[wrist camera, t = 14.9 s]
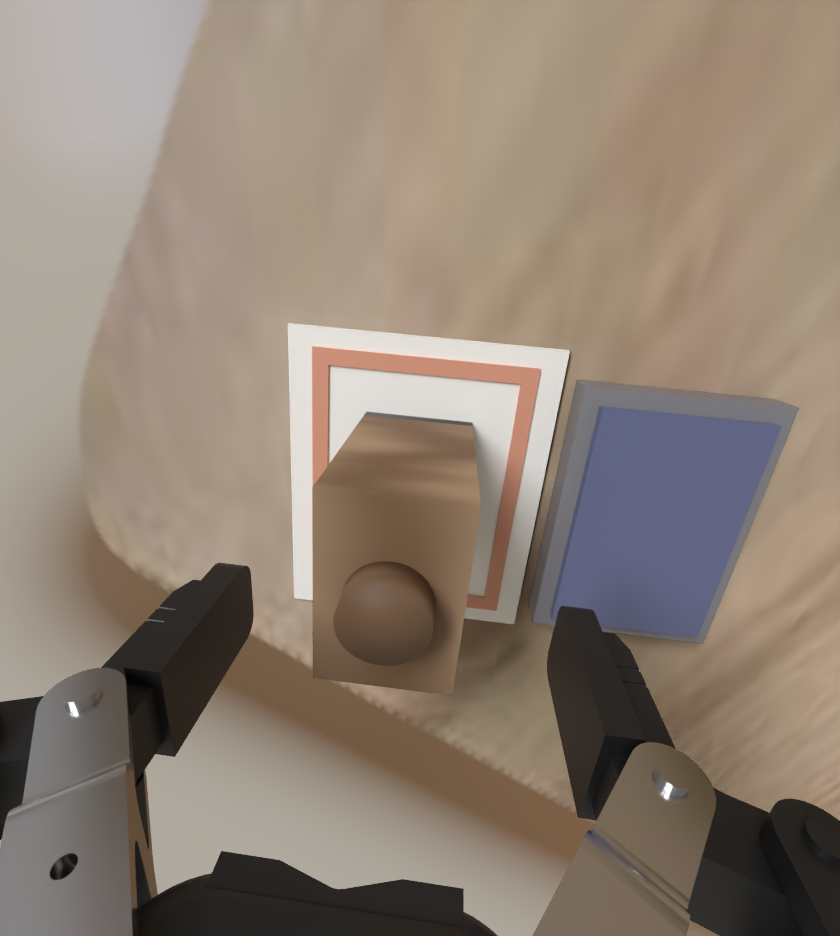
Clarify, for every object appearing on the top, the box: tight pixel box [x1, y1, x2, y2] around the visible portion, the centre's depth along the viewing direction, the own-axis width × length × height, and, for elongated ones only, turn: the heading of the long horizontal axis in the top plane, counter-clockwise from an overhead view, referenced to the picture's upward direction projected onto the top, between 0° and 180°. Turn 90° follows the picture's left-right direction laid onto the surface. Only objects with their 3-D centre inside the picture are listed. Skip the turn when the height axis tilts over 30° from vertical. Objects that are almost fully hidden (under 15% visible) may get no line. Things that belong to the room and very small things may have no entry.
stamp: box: [312, 412, 481, 695], centre depth 15 cm, size 4×6×8 cm, turn 175°
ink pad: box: [529, 380, 799, 643], centre depth 17 cm, size 7×10×2 cm
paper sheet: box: [288, 323, 570, 624], centre depth 18 cm, size 10×12×1 cm
